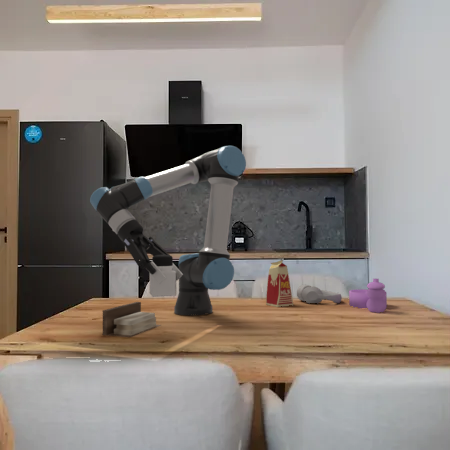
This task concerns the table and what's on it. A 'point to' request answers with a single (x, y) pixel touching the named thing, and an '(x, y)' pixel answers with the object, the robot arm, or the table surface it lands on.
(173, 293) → the medicine bottle
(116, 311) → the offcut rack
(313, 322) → the table surface
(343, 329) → the table surface
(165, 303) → the table surface
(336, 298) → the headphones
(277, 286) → the milk carton
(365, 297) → the container set
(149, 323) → the offcut stack
